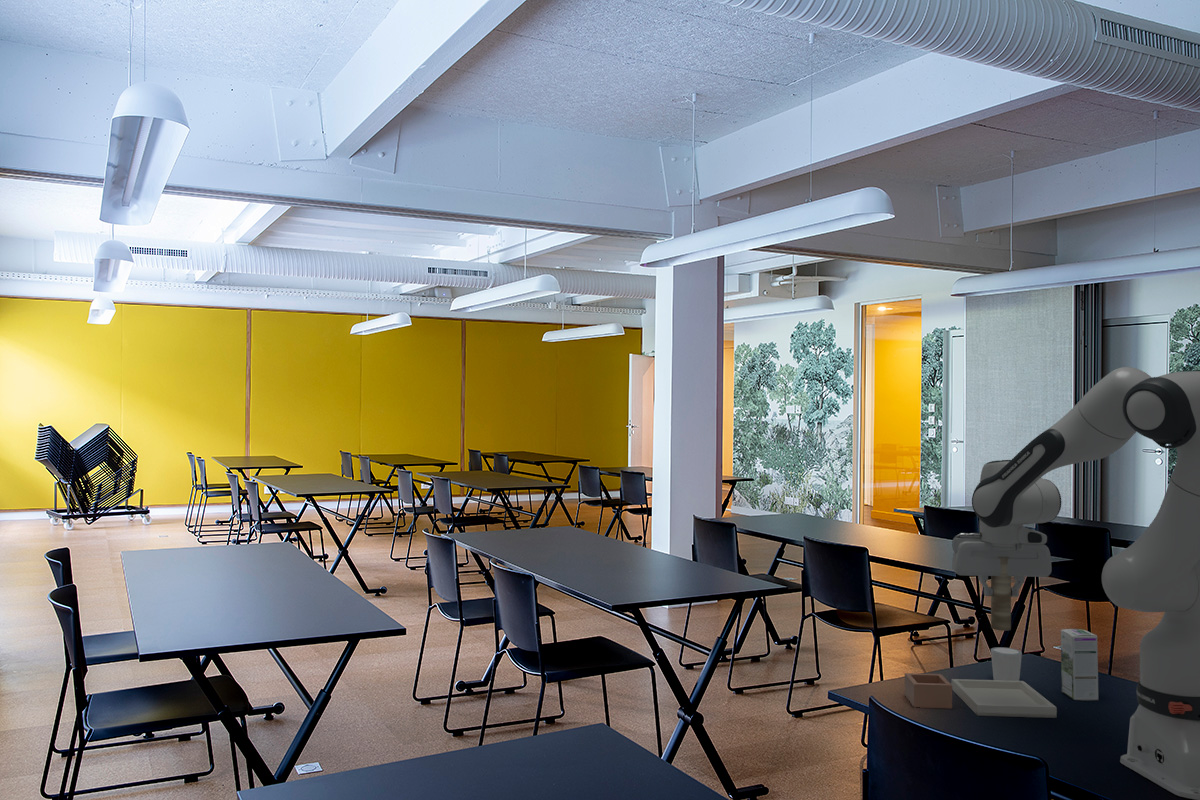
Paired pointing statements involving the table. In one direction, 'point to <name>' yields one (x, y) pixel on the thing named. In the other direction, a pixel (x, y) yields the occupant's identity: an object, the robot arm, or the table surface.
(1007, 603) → the olive grey ringed cylinder
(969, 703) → the tray
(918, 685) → the brown square sleeve
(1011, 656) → the grey cup
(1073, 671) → the syrup box
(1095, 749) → the table surface
